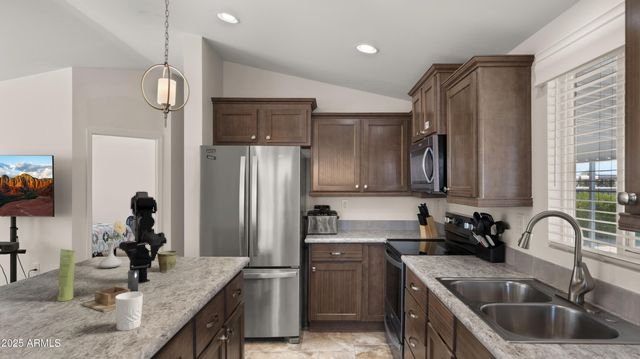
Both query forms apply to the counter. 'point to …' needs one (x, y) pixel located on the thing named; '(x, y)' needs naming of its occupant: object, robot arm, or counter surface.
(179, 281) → the counter surface
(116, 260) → the flower in vase
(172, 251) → the ceramic cup
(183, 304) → the counter surface
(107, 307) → the well
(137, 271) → the peg
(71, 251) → the tube
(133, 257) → the robot arm
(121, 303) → the white cup
